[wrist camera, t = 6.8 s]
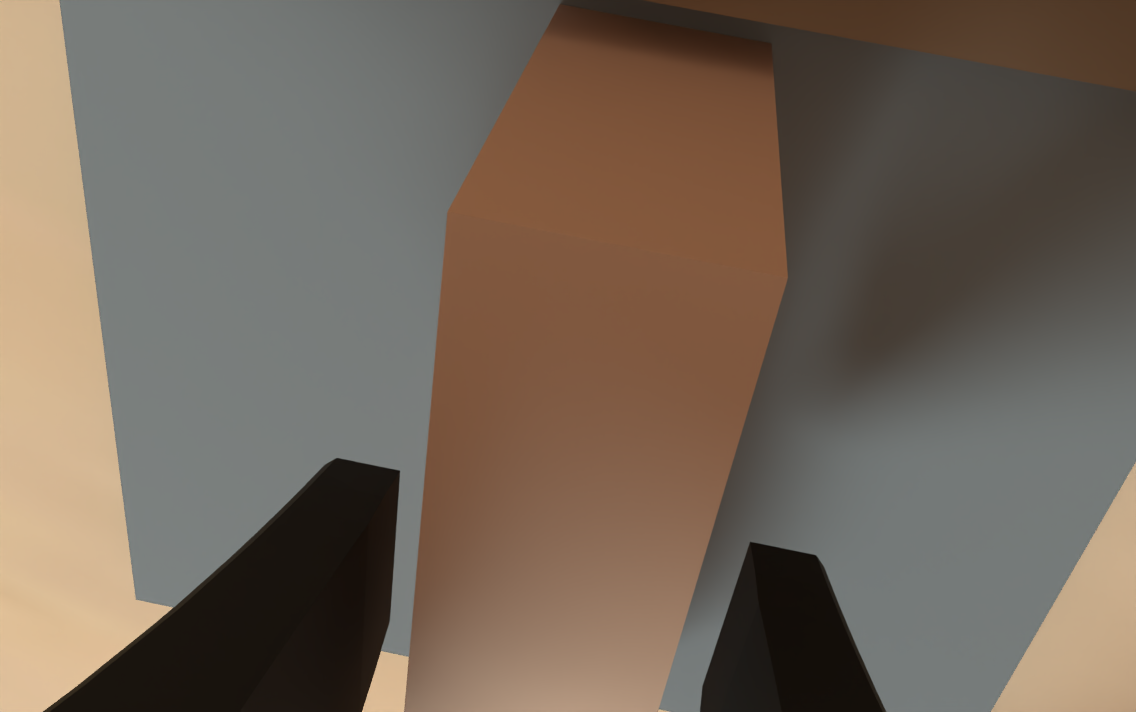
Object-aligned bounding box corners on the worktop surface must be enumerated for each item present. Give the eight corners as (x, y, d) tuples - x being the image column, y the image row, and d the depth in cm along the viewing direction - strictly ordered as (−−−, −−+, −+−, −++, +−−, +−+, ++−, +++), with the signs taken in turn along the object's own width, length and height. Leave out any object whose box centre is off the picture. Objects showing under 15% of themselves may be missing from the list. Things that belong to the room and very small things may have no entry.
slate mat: (951, 747, 15) (956, 770, 15) (148, 579, 16) (135, 599, 15) (1326, 81, 10) (1347, 95, 9) (63, -151, 10) (40, -144, 10)
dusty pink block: (611, 673, 15) (567, 1013, 11) (472, 644, 15) (381, 971, 11) (772, 42, 10) (787, 277, 6) (559, 4, 10) (447, 212, 6)
